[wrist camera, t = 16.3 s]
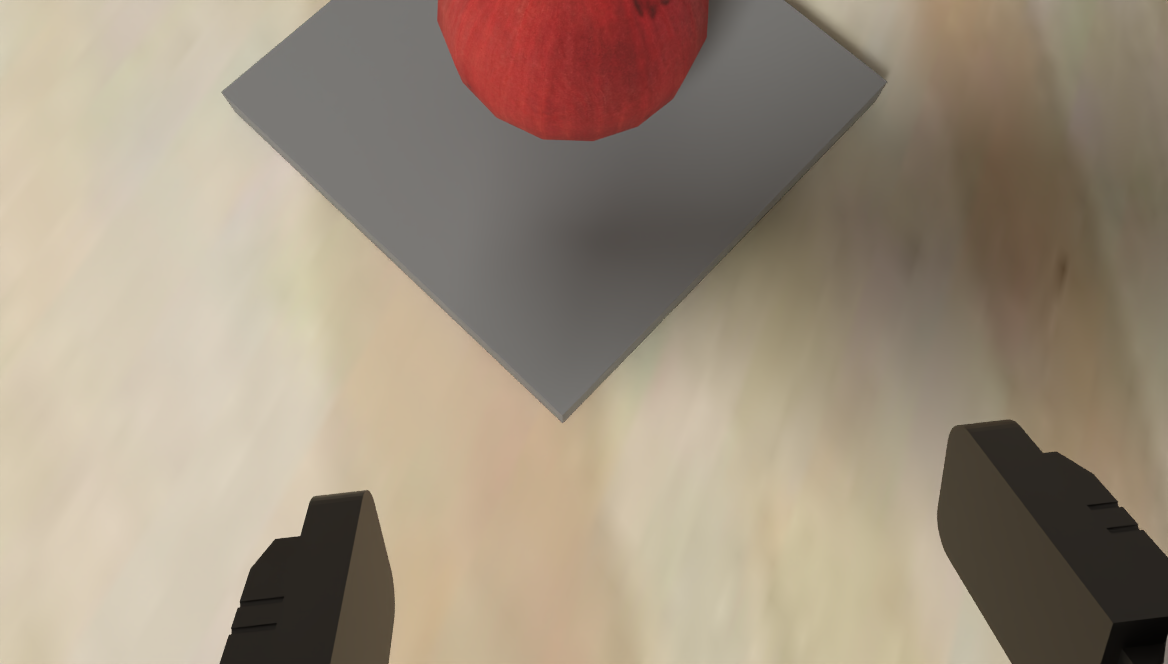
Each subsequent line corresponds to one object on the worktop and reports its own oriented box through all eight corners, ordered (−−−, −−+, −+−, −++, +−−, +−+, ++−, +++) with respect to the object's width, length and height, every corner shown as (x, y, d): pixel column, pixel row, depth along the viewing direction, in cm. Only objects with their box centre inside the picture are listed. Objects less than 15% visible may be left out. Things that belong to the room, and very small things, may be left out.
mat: (552, -156, 27) (551, -184, 26) (874, 101, 24) (887, 81, 23) (235, 111, 24) (221, 91, 23) (562, 423, 22) (562, 415, 21)
